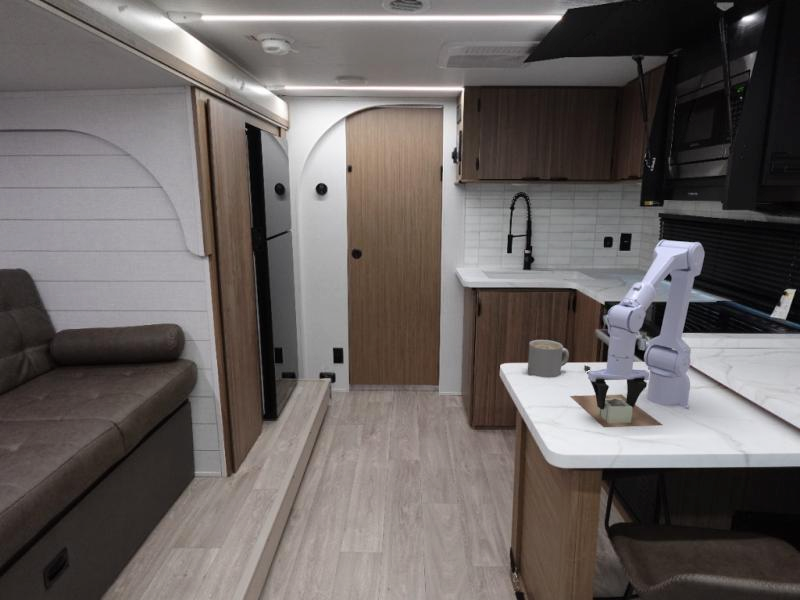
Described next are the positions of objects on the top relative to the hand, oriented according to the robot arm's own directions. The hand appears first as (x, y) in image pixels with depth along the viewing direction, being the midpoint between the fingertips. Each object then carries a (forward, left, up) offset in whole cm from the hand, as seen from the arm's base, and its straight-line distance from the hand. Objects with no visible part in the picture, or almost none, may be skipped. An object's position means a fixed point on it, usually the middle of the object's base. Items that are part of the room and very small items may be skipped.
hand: (615, 407), depth 123 cm
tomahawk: (-10, -29, -5) cm, 31 cm away
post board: (-2, -5, -4) cm, 7 cm away
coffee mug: (+3, -34, -4) cm, 34 cm away
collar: (0, 0, -3) cm, 3 cm away
